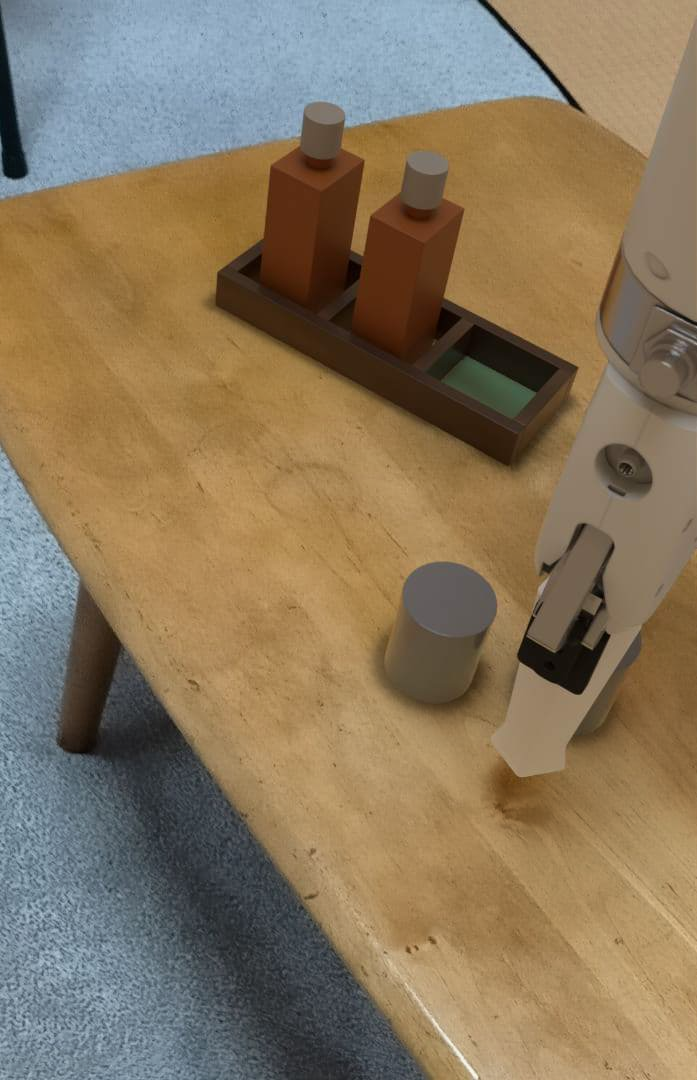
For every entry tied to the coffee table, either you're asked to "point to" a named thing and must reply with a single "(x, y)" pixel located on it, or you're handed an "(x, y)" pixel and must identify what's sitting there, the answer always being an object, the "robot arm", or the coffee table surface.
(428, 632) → the grey upright cylinder
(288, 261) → the amber bottle
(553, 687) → the perfume bottle
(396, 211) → the amber bottle
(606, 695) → the grey jar
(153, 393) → the coffee table surface
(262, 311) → the rack
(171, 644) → the coffee table surface
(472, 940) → the coffee table surface
